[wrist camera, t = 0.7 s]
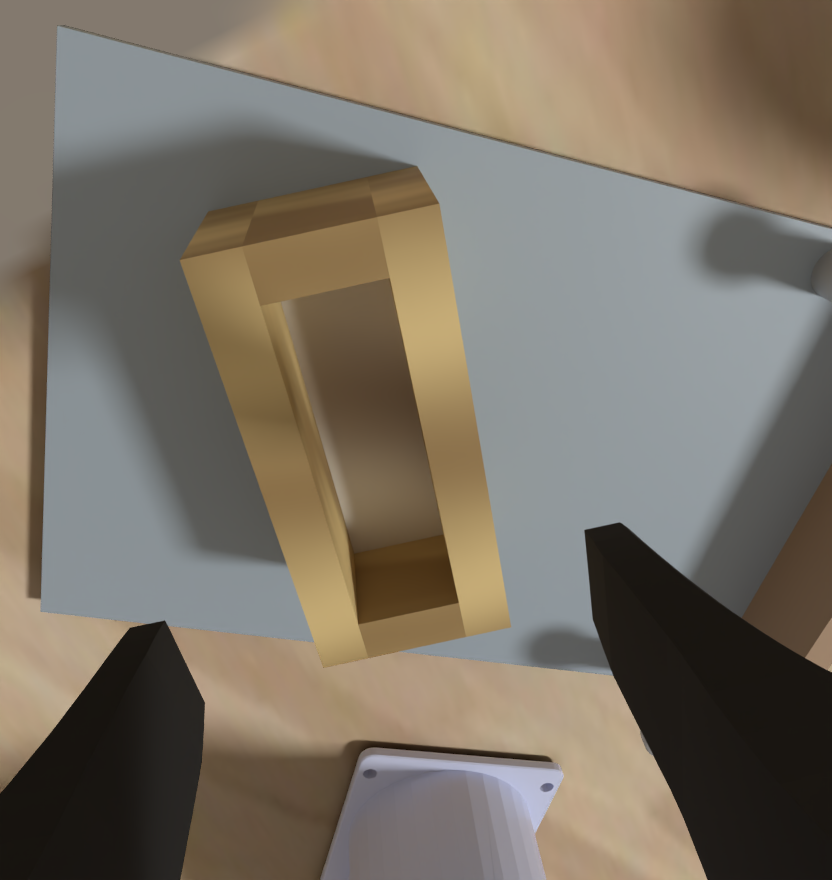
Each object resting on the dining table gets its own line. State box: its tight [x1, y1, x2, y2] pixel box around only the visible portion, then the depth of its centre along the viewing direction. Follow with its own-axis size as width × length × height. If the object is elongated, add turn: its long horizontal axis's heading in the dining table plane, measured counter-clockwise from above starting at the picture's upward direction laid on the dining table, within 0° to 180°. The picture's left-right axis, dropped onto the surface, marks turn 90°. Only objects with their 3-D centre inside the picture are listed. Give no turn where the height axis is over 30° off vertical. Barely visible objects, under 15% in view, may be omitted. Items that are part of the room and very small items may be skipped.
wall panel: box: [41, 25, 832, 755], centre depth 21 cm, size 16×26×4 cm, turn 76°
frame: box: [180, 166, 511, 668], centre depth 19 cm, size 11×5×4 cm, turn 11°
